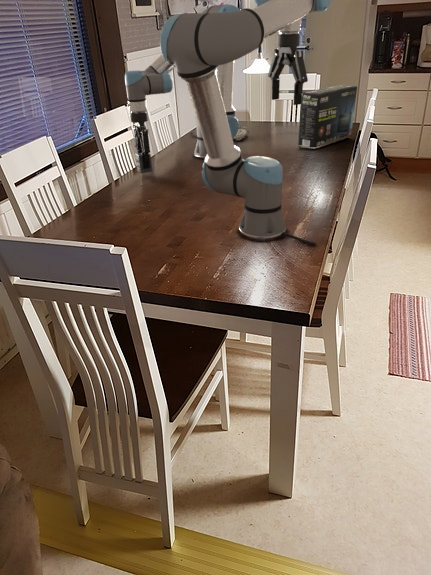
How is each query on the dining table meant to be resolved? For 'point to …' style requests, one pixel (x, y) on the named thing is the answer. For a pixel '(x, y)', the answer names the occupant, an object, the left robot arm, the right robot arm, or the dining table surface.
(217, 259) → the dining table surface
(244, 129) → the fossil
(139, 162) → the block
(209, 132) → the right robot arm
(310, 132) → the router box
